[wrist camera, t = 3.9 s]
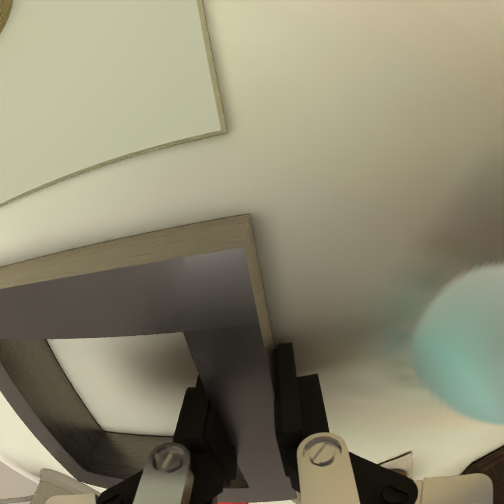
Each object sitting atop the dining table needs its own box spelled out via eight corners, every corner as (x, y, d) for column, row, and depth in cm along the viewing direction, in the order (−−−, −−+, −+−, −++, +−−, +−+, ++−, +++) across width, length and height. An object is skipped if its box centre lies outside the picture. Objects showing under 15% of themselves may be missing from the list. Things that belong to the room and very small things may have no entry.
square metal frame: (249, 213, 9) (243, 246, 6) (293, 450, 13) (296, 499, 10) (-8, 269, 10) (-50, 297, 7) (94, 445, 14) (78, 481, 11)
